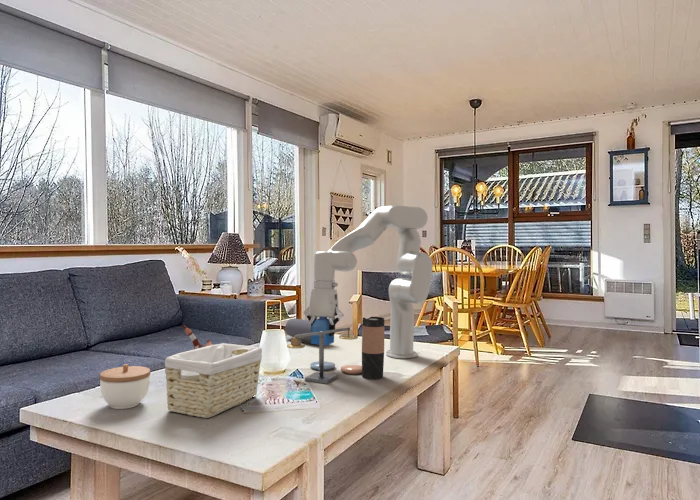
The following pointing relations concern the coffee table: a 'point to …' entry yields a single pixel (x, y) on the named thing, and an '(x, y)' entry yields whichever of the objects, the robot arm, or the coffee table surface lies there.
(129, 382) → the lidded bowl
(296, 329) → the bluetooth speaker
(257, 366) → the storage basket
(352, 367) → the peach glossy round dome
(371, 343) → the travel mug
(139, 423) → the coffee table surface
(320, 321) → the perfume bottle
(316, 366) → the pale blue dome
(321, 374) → the balance
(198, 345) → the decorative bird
